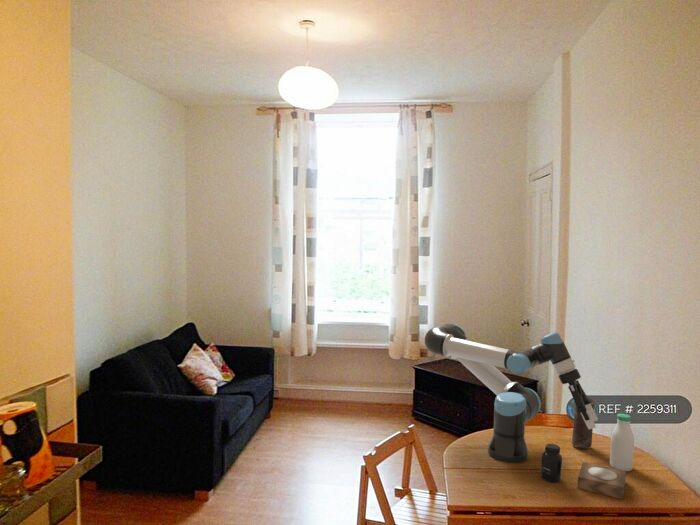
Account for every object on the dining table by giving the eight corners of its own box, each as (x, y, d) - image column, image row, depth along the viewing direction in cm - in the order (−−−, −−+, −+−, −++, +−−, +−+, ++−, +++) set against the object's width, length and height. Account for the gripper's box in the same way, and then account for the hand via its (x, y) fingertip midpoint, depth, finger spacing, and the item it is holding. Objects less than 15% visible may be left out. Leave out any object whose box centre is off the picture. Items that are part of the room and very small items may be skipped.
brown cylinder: (593, 446, 217) (595, 398, 216) (590, 452, 210) (593, 403, 209) (573, 442, 221) (575, 395, 220) (570, 447, 214) (572, 399, 213)
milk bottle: (635, 473, 193) (638, 419, 192) (612, 470, 195) (616, 417, 193) (628, 464, 201) (631, 412, 199) (607, 461, 202) (610, 410, 201)
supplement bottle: (540, 481, 185) (542, 447, 184) (540, 472, 191) (542, 440, 190) (561, 484, 182) (563, 451, 182) (560, 476, 189) (562, 443, 188)
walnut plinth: (577, 487, 180) (578, 475, 180) (582, 472, 192) (582, 460, 192) (623, 499, 173) (623, 486, 173) (625, 482, 185) (625, 470, 185)
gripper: (573, 371, 191) (601, 428, 186) (579, 364, 213) (605, 415, 208) (553, 379, 194) (581, 435, 189) (561, 371, 216) (586, 421, 211)
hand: (593, 424), depth 198 cm, fingers open, 13 cm apart
